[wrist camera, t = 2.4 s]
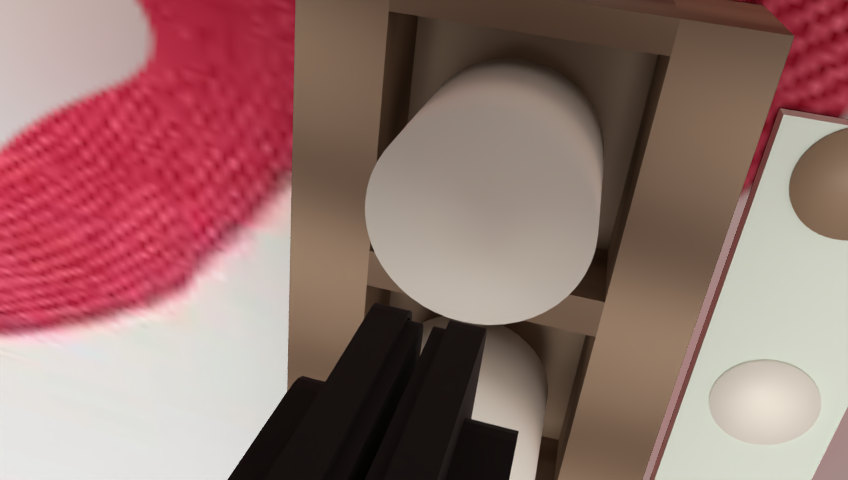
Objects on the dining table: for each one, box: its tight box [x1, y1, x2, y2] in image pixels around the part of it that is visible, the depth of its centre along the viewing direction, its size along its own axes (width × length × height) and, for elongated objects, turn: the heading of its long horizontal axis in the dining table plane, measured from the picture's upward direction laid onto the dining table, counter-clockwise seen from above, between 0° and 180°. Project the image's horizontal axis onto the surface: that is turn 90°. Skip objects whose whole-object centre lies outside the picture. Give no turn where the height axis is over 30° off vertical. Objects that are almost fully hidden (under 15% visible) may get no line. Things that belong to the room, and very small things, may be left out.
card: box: [650, 108, 848, 480], centre depth 23 cm, size 18×5×1 cm, turn 173°
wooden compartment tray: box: [287, 0, 794, 480], centre depth 23 cm, size 23×11×4 cm, turn 173°
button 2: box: [365, 58, 605, 325], centre depth 17 cm, size 5×5×4 cm
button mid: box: [420, 316, 548, 480], centre depth 20 cm, size 5×5×4 cm
